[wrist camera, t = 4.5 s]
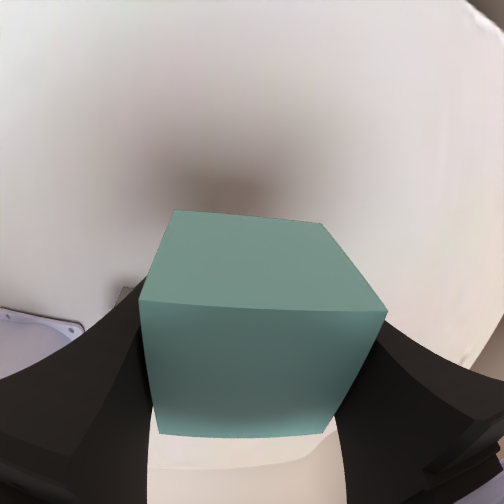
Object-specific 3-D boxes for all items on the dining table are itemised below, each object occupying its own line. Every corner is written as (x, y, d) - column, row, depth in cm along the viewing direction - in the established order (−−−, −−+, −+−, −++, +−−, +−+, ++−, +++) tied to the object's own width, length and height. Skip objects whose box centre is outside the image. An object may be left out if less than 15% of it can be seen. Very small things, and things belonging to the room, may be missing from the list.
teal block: (173, 327, 12) (158, 433, 7) (174, 209, 10) (138, 299, 5) (293, 333, 12) (322, 433, 8) (321, 223, 10) (388, 310, 6)
